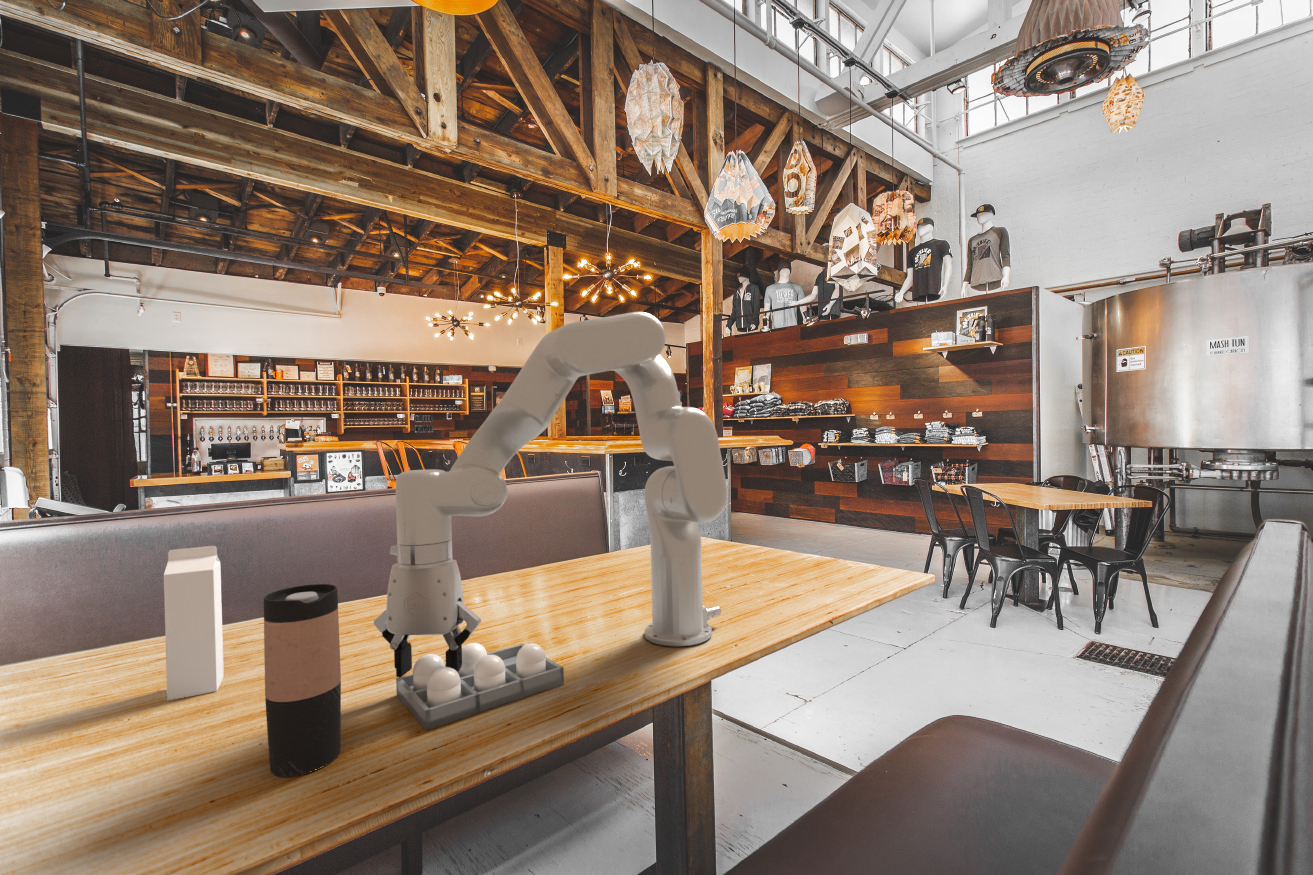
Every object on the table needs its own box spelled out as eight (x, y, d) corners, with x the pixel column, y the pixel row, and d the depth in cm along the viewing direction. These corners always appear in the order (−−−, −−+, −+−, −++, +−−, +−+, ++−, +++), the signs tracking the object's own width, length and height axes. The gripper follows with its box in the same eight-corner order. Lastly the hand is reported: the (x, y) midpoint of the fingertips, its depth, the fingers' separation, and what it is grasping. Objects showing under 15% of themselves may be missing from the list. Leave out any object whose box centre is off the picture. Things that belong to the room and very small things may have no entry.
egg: (439, 679, 87) (438, 646, 87) (450, 688, 83) (448, 654, 83) (409, 688, 84) (408, 654, 84) (419, 698, 81) (417, 663, 81)
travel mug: (290, 744, 71) (285, 585, 71) (354, 740, 72) (349, 582, 72) (252, 781, 63) (247, 602, 63) (323, 776, 64) (318, 599, 64)
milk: (217, 691, 87) (213, 548, 87) (166, 701, 84) (162, 553, 84) (224, 677, 92) (220, 542, 92) (176, 686, 90) (172, 546, 89)
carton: (523, 657, 97) (522, 623, 97) (564, 683, 86) (562, 644, 86) (396, 694, 84) (395, 654, 84) (426, 730, 74) (424, 684, 74)
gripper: (354, 559, 81) (357, 683, 81) (471, 558, 79) (474, 685, 79) (384, 548, 88) (387, 662, 88) (492, 547, 87) (495, 664, 87)
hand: (428, 672), depth 84 cm, fingers open, 7 cm apart
